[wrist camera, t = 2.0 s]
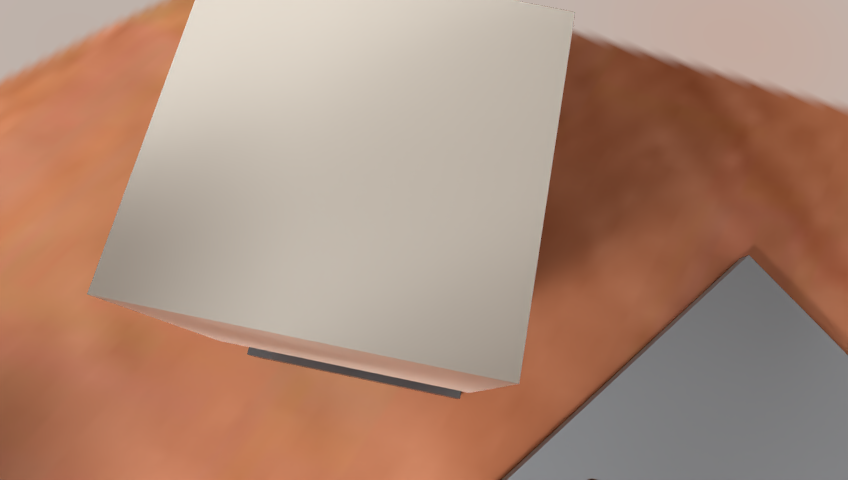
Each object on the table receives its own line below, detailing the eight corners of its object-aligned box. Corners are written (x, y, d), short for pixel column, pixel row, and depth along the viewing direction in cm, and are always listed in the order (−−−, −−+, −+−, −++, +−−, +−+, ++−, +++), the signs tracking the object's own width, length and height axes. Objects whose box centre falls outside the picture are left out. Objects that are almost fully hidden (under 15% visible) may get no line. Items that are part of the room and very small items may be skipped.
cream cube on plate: (469, 392, 16) (518, 383, 9) (219, 340, 16) (87, 293, 9) (509, 160, 18) (575, 12, 11) (285, 115, 18) (216, -59, 11)
